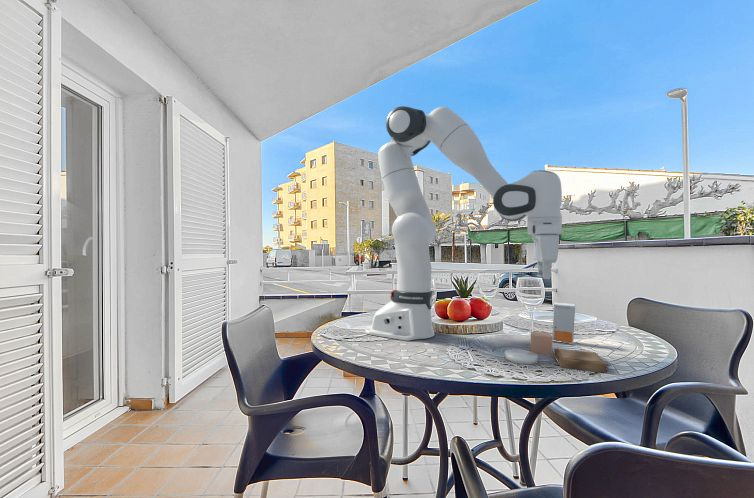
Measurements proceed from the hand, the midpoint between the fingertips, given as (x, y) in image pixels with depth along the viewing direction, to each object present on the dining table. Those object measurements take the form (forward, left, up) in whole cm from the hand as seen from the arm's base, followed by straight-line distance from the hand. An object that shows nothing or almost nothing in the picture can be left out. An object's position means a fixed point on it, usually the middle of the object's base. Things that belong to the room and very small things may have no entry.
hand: (544, 277), depth 105 cm
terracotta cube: (0, 0, -21) cm, 21 cm away
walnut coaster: (+8, -8, -21) cm, 24 cm away
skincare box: (+8, +14, -21) cm, 26 cm away
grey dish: (-6, -10, -21) cm, 24 cm away
